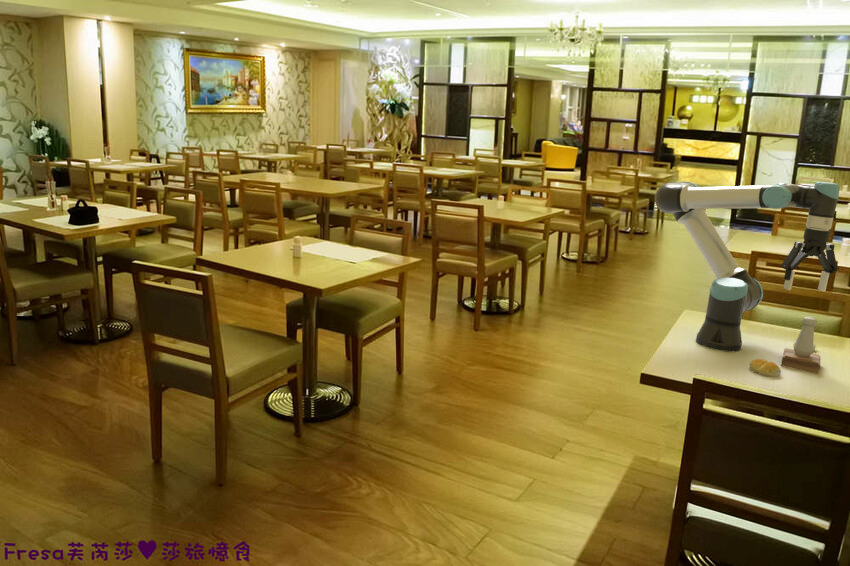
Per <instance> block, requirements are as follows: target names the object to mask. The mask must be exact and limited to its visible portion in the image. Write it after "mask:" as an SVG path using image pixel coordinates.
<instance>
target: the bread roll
mask: <svg viewBox="0 0 850 566" xmlns="http://www.w3.org/2000/svg"><path fill="white" fill-rule="evenodd" d="M749 369H750V371H751V372H753V373H756V374H759V375H760V376H764V377H769V378H773V377H774V378H775V377H778V376H780V375H781V372H782V371H781V367H780V366H779V365H778V364H777V363H775V362H774V361H773V362H772V361H767V359H763V358H756V359H753V360H752V361H751V362H750V363H749Z"/></svg>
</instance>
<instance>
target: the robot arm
mask: <svg viewBox="0 0 850 566" xmlns="http://www.w3.org/2000/svg"><path fill="white" fill-rule="evenodd" d="M840 189H841V186H840V185H839V184H838V183H835V182H834V183H833V182H829V181H828V182H827V181H816V182H815V183H814V185H813V186H807V185H800V184H793V183H788V182H787V183H786V182H784V183H783V182H778V183H777V184H774V185H773V184H772V185H738V186H737V185H736V186H735V185H734V186H733V185H731V186H702V187H701V186H698V184H695V183H694V182H690V181H679V182H678V181H675V182H667V183H664V184H662V185H661V186H660V187H659V188H658V189H657V190H656V192H655V195H654V203H655V206H656V207H657V208H658V210H660V211H661V212H662V213H664V214H668V215H672V216H673V217H674V219H675V220H676V222H677V223H678V224H682V225H684V226H685V229H686V230H687V232H688V233H689V235H690V236H691V238H692V240H693V241H694V244H695V245H696V247H697V248H698V250H699V252H701V255H702V256H703V258H704V260H705V261H706V263H707V264H708V266H709V268H710V269H711V271H712V273H713V275H714V276H715V277H716V278H715V279H714V280H713V281H712V282H711V285H710V288H709V296H708V300H707V306H706V312H705V317H704V321H703V323H702V324H701V327H700V328H699V331H698V332H697V333H696V337H695V342H696V343H698V344H699V345H700V346H703V347H706V348H708V349H711V350H712V349H713V350H715V351H716V350H717V351H722V352H739V351H741V350H742V346H743V339H742V333H741V325H742V318H743V313H744V312H749V311H751V310H752V309H755V308H756V307H757V306H759V305H760V303H762V300H763V297H764V290H763V287H762V285H761V283H760V282H759V281H758V280H757V279H755V278H753V277H751V275H750V274H749V272H748V271H747V269H746V268H742V267H740V266H739V265H738V263H737V261H736V260H735V258H734V256H733V255H732V254H731V252H730V250H729V248H728V247H727V246H726V244H725V242H724V241H723V239H722V237H721V236H720V234H719V232H718V230H717V229H716V228H715V226H714V224H713V223H712V221H711V220H710V217H708V215H707V213H706V209H707V210H708V209H710V210H711V209H713V210H714V209H773V210H778V209H779V210H780V209H784V208H798V209H804V210H805V209H806V210H808V214H807V219H806V222H805V223H806V224H805V226H806V228H804V233H803V242H800V241H797V240H796V241H794V243H793V247H792V249H791V251H789V252H788V253H787V256H786V258H785V259H784V261H783V262H782V264H781V266H780V268H782V269H784V270H785V272H784V277H783V279H784V284H783V289H785V290H787V291H791V290H792V287H793V283H794V277H795V273H796V272H795V269H796V268H797V267H798V266H799V265H800V264H801V263H802V262H803V261H804V260H805V259H807V258H808V257H816V258H817V259H818V261H819V263H820V264H821V266H822V269H823V270H822V271H821V274H820V279H819V283H818V287H817V290H818V291H821V292H822V293H823V292H827V291H826V290H827V285H828V282H830V278H831V274H834V273H835V272H837V271H838V264H837V260H836V256H835V255H836V254H835V244H833V243H829V240H830V235H831V231H830V230H831V229H832V226H833V222H834V217H835V213H836V209H837V205H838V201H839V194H840Z"/></svg>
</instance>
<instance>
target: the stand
mask: <svg viewBox="0 0 850 566" xmlns="http://www.w3.org/2000/svg"><path fill="white" fill-rule="evenodd" d="M780 366H781V367H785V368H790V369H795V370H800V371H804V372H809V373H813V374H819V372H820V368H821V355H820V354H817V353H813V352H812V354H811V355H810V356H809V357H801V356H798V355H796V354H795V351H794V348H788V347H785V348H784V349H783V354H782V359H781V363H780Z"/></svg>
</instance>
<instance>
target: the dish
mask: <svg viewBox="0 0 850 566" xmlns="http://www.w3.org/2000/svg"><path fill="white" fill-rule="evenodd" d="M796 341H797V339H796V340H794V341H793V345H795V343H796ZM793 345H792V346H793ZM816 346H817V345H816V344H815V343H813V350H814V349H815V350H816Z"/></svg>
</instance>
